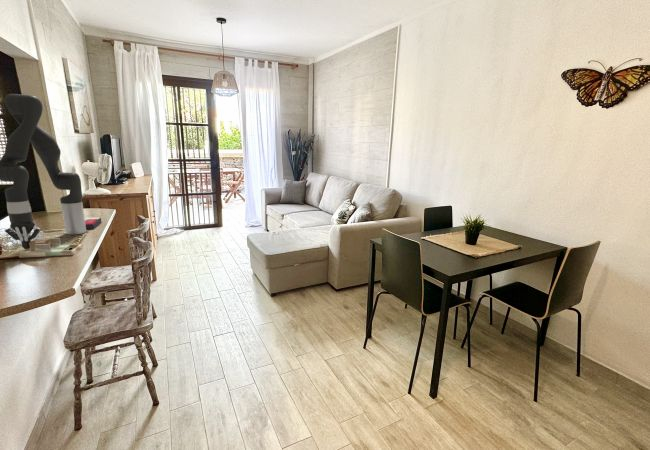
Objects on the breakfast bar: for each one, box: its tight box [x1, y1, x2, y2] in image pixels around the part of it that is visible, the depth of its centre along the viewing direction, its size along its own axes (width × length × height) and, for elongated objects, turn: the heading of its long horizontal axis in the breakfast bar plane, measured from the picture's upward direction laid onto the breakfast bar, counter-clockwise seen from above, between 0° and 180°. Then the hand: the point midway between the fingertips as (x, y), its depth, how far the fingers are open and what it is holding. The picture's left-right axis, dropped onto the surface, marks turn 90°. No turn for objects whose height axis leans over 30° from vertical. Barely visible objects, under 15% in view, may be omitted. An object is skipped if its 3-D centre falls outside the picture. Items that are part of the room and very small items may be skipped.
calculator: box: [85, 216, 102, 231], centre depth 191 cm, size 11×4×15 cm
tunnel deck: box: [17, 237, 84, 259], centre depth 148 cm, size 10×20×6 cm, turn 107°
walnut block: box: [29, 238, 52, 251], centre depth 146 cm, size 6×6×4 cm
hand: (27, 248), depth 145 cm, fingers closed
